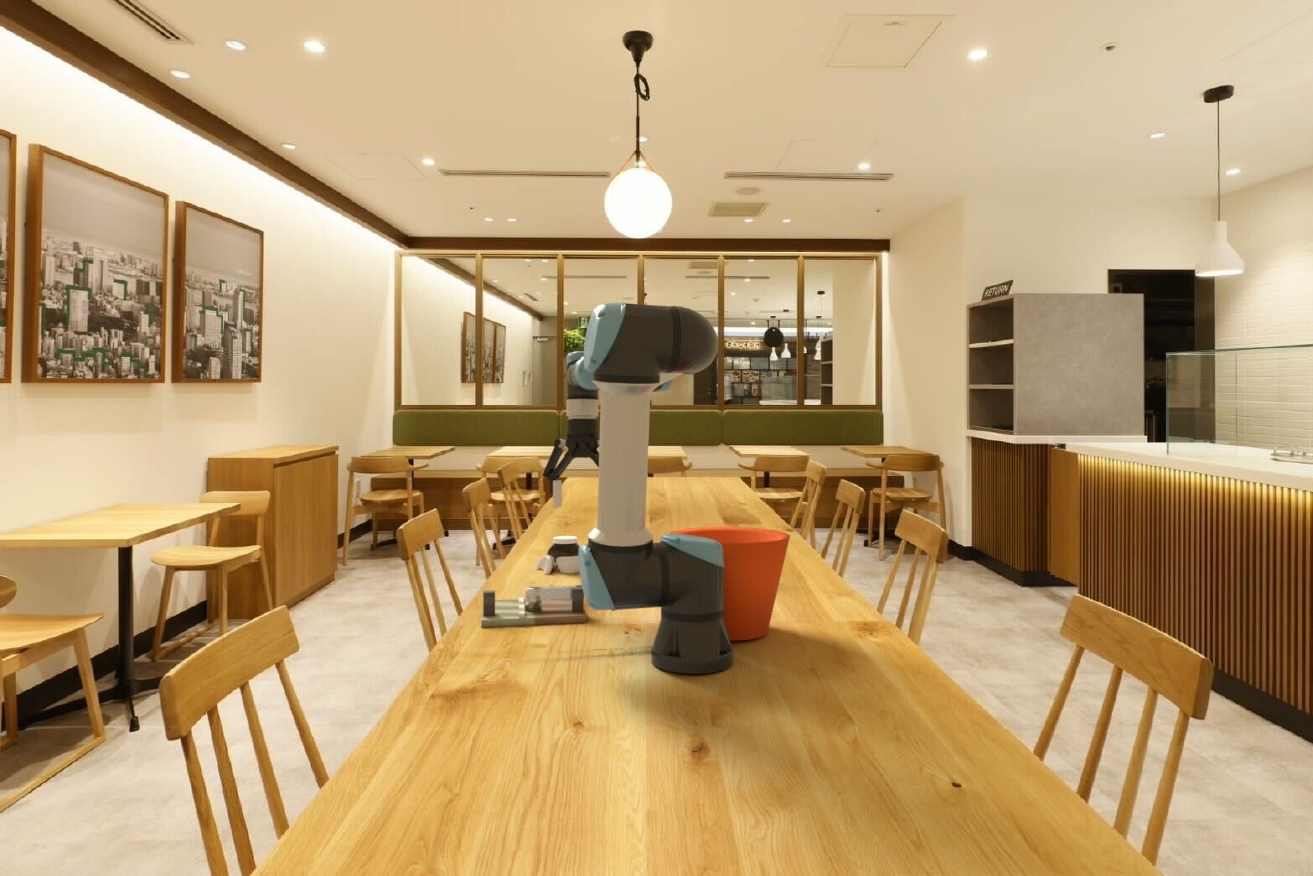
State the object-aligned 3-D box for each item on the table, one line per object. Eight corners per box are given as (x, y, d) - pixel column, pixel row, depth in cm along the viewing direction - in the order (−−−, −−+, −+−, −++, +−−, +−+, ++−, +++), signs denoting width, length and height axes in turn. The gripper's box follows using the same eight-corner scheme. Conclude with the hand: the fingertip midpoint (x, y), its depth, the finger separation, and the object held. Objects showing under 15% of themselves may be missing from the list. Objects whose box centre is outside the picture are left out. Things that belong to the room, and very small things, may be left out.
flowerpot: (702, 610, 171) (702, 524, 171) (807, 624, 158) (807, 531, 158) (645, 635, 150) (645, 536, 150) (761, 654, 137) (761, 546, 137)
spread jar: (588, 578, 209) (588, 537, 209) (562, 585, 200) (562, 542, 200) (554, 574, 216) (555, 534, 216) (528, 580, 206) (528, 538, 206)
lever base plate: (586, 622, 160) (586, 592, 160) (481, 627, 156) (481, 596, 156) (578, 603, 179) (578, 575, 178) (484, 606, 174) (484, 579, 174)
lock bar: (525, 611, 163) (525, 589, 163) (525, 607, 166) (525, 586, 166) (584, 608, 165) (584, 587, 165) (582, 605, 168) (582, 584, 168)
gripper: (637, 417, 174) (637, 509, 173) (545, 419, 183) (545, 505, 183) (623, 416, 167) (623, 511, 167) (528, 418, 176) (528, 508, 176)
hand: (582, 508), depth 175 cm, fingers open, 13 cm apart
